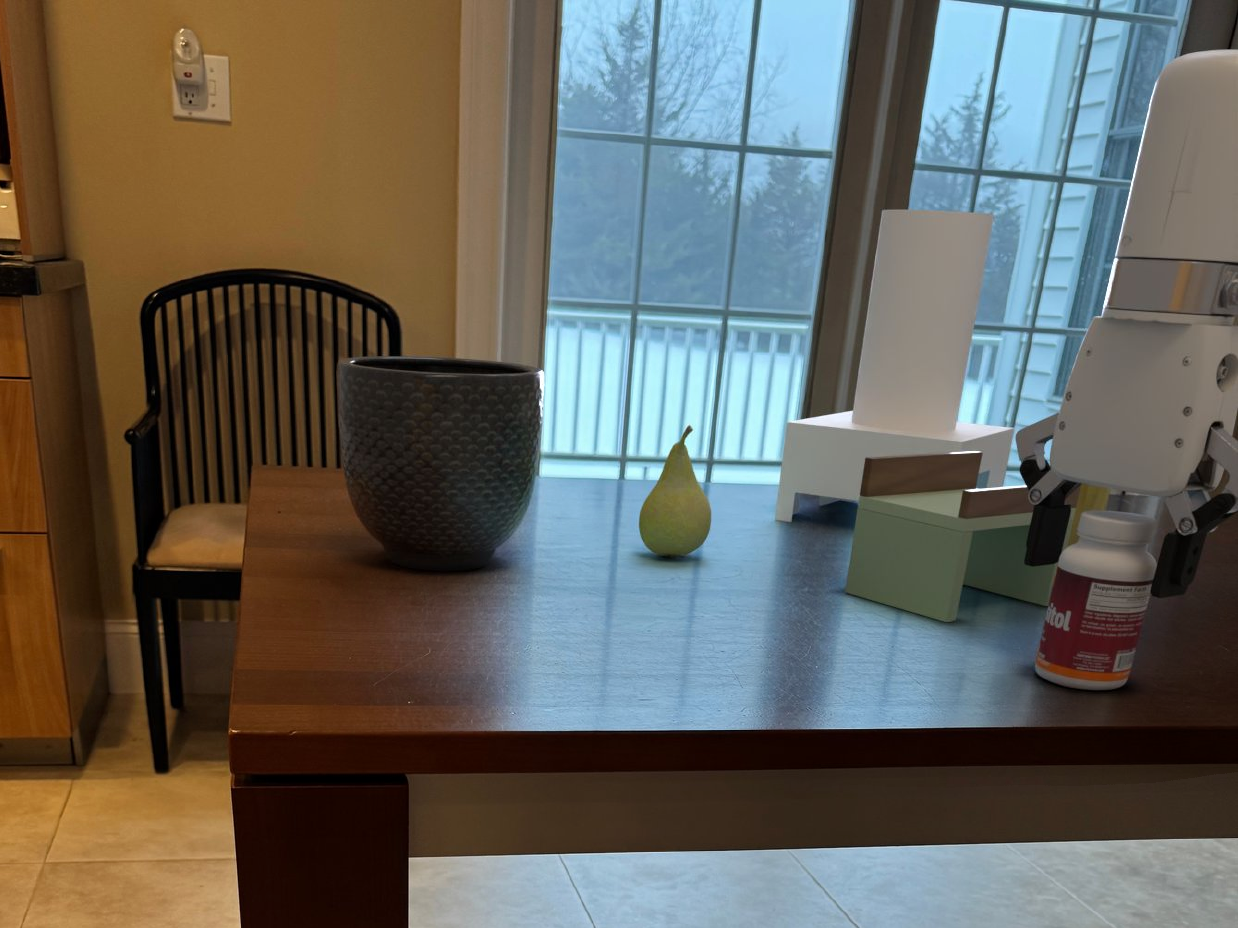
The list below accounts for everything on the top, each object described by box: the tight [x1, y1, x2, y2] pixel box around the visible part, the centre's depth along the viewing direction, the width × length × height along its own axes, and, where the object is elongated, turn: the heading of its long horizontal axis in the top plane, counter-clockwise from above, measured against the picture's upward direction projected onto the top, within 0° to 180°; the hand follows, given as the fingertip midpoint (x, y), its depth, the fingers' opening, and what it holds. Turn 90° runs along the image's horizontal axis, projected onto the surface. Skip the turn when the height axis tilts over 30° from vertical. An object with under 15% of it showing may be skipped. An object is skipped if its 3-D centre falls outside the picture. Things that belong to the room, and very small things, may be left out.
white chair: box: [774, 209, 1015, 523], centre depth 136 cm, size 19×19×30 cm
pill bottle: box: [1034, 509, 1158, 691], centre depth 87 cm, size 6×6×11 cm
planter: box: [336, 355, 546, 572], centre depth 110 cm, size 17×17×16 cm
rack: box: [844, 451, 1081, 623], centre depth 108 cm, size 11×14×11 cm
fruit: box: [638, 424, 712, 559], centre depth 117 cm, size 7×8×12 cm
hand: (1101, 579), depth 87 cm, fingers open, 9 cm apart
